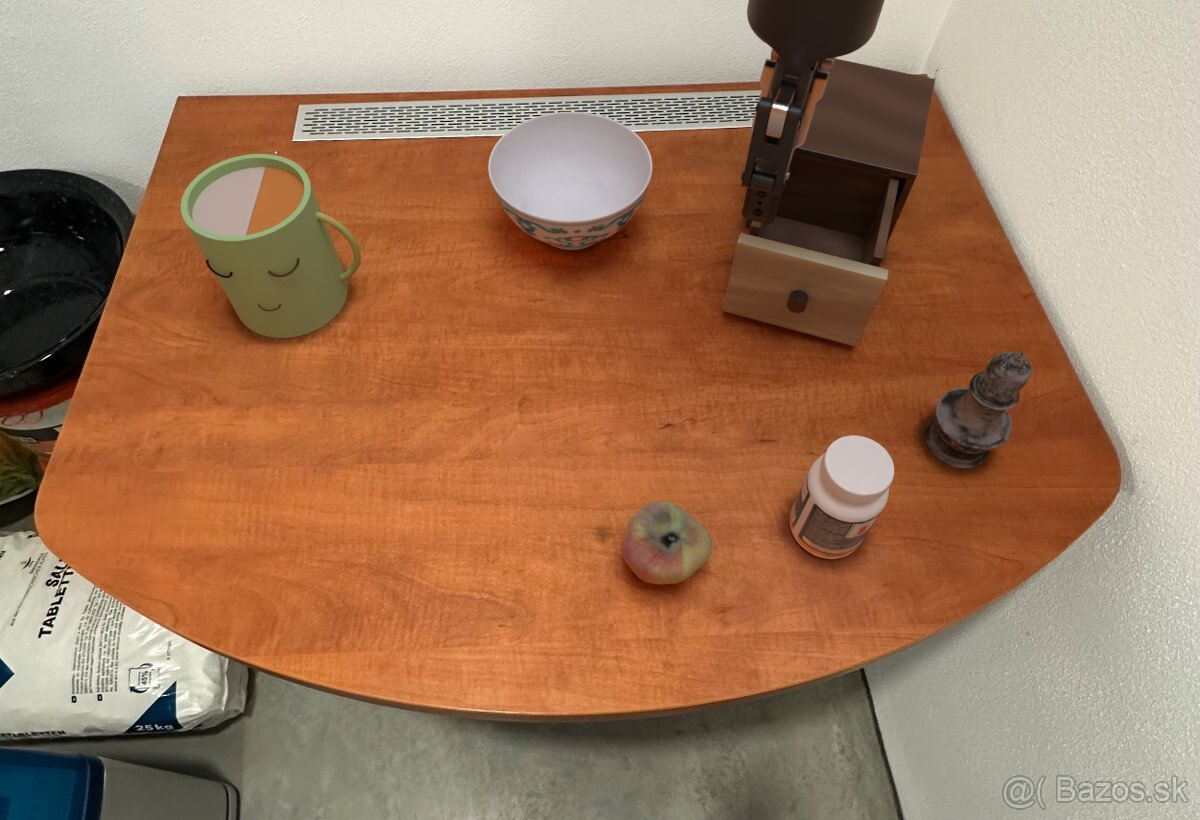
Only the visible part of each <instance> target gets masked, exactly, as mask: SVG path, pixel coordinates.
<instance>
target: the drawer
mask: <svg viewBox="0 0 1200 820" xmlns="http://www.w3.org/2000/svg"><path fill="white" fill-rule="evenodd" d="M788 172H790V175H789V179H788V180H786V181H785V182H786V185H785V188H784V190H782V193H781V197H780V200H779V204H778V208H777V212H776V215H775V218H774V221H773V222H772V223H771V224H764V223H760V222H756V221H752V223H751V227H749V232H748V234H747V233H743V232H740V233H739V236H738V239H737V241H736V246H735V250H734V255H733V260H732V264H731V268H730V273H729V274H730V275H729V278H728V283H727V287H726V288H727V289H726V292H725V297H724V301H723V307H722V312H725V313H728V314H732V315H736V316H739V317H742V318H747V319H751V320H754V321H758V322H762V323H765V324H770V325H773V326H776V327H777V326H778V327H781V328H784V329H787V330H792V331H795V332H799V333H803V334H807V335H811V336H815V337H817V338H822V339H826V340H829V341H833V342H836V343H841V344H844V345H848V346H851V347H856V348H857V346H858V344H859V342H860V339H861V338H862V336H863V333H864V332H865V329H866V326H867V325H868V322H869V320H870V318H871V316H872V315H873V314H872V313H873V311H874V309H875V307H876V305H877V303H878V301H879V298H880V297H881V295H882V292H883V290H884V288H885V285H886V283H887V281H888V278H889V273H890V270H889V269H887V268H884V267H881V264H882V263H883V260H884V256H885V251H886V248H885V247H887V245H886V242H887V237H888V233H889V228H890V223H891V218H892V213H893V209H894V204H895V199H896V194H897V189H898V184H899V180H900V178H899V177H894V176H890V175H886V174H881V173H877V172H873V171H868V170H864V169H860V168H855V167H851V166H847V165H842V164H838V163H834V162H829V161H825V160H820V159H816V158H812V157H807V156H803V155H799V154H793V158H792V161H791V164H790V168H789V171H788Z"/></svg>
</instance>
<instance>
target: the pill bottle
mask: <svg viewBox="0 0 1200 820" xmlns="http://www.w3.org/2000/svg"><path fill="white" fill-rule="evenodd" d="M894 477H895V465H894V460H893V459H892V456H891V455H890V453H889V452H888V451H887V450H886V448H885V447H883V446H882V445H881V444H880V443H879V442H877V441H875V440H873V439H871V438H869V437H866V436H862V435H844V436H841V437H839V438H837V439H835V440H834V441H833V442H832V443H830V444H829V446H828V447H827V448H826V450H825V452H824V454H822V455H820V456H819V457H818V458H816V460H815V461H813V463H812V465H811V466H810V469H809V470H808V472H807V475H806V477H805V478H804V481H803V483H802V485H801V488H800V490H799V492H798V494H797V497H796V498H795V501H794V502H793V504H792V507H791V509H790V514H789V526H790V531H791V533H792V536H793V537H794V539H795V541H796V542H797V543H798V544H799V546H800V547H801V548H803V549H804V550H805V551H806V552H808V553H810V554H811V555H813V556H815V557H818V558H822V559H825V560H837V559H842V558H845V557H847V556H849V555H851V554H852V553H854V552H855V551H856V550H857V548H859V546H860V545H861V544H862V542H863V541H864V540H865V538H866V536H867V535H868V533H869V532H870V530H871V528H872V527H873V526H874V524H875V522H877V520H878V518H879V516H880V515H881V513H882V512H883V511H884V510H885V507H886V505H887V502H888V499H889V495H890V486H891V485H892V483H893V480H894Z"/></svg>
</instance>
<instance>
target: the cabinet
mask: <svg viewBox="0 0 1200 820" xmlns="http://www.w3.org/2000/svg"><path fill="white" fill-rule="evenodd" d="M935 83H936V79H935V78H933V77H926V76H922V75H917V74H913V73H907V72H902V71H898V70H893V69H888V68H883V67H878V66H874V65H868V64H864V63H860V62H859V63H858V62H855V61H849V60H845V59H840V58H836V59H835V62H834V66H833V69H832V72H831V74H830V75H829V79H828V82H827V86H826V89H825V92H824V96H823V98H822V99H821V101H819V102H818V103H817V105H816V108H815V112H814V115H813V118H812V122H811V125H810V128H809V132H808V135H807V139H806V142H805V144H804V145H803V146H802V147H799V148H797V149H795V151H794V154H799V155H803V156H807V157H812V158H816V159H820V160H825V161H829V162H834V163H838V164H842V165H847V166H851V167H855V168H860V169H864V170H868V171H873V172H877V173H881V174H886V175H890V176H894V177H899V178H900V180H899V184H898V189H897V194H896V199H895V204H894V209H893V213H892V218H891V223H890V228H889V233H888V237H887V242H886V247H887V245H888V243H889V240H890V238H891V236H892V234H893V231H894V229H895V227H896V224H897V222H898V220H899V218H900V216H901V214H902V211H903V208H904V206H905V204H906V202H907V199H908V197H909V194H910V193H911V191H912V188H913V186H914V183H915V181H916V179H917V176H918V172H919V167H920V162H921V157H922V152H923V146H924V142H925V141H924V140H925V137H926V136H925V135H926V130H927V124H928V119H929V115H930V109H931V105H932V98H933V94H934V89H935ZM771 162H772V161H771ZM751 223H752V220H748V219H746V222H745V227H747V228H750V227H751ZM886 247H885V249H886Z"/></svg>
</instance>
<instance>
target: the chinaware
mask: <svg viewBox="0 0 1200 820" xmlns="http://www.w3.org/2000/svg"><path fill="white" fill-rule="evenodd" d="M487 169H488V170H487V171H488V178H489V182H490V184H491V187H492V189H493V192H494V194H495V196H496V199H497V201H498V202H499V204H500V206H501V208H503V211H504V212H505V213H506V215H507V216H508V217H509V219H510V220H511V221H512V222H513V223H514V224H515V225H516V226H517V227H518V228H520V230H522V231H523V232H525V233H526V234H528V235H529V236H530V237H533V238H534V239H536V240H538V241H541V242H543V243H546V244H549V245H551V246H553V247H555V248H558V249H561V250H569V251H576V250H577V251H578V250H582V249H586V248H589V247H591V246H593V245H595V244H596V243H599V242H601V241H604V240H606V239H608V238H609V237H611V236H613V235H615V234H616V233H618V232H619V231H620V230H621V229H622V228H623V227H625V226H626V224H628V223H629V221H630V220H631V219H632V218H633V217H634V216H635V214H636V213H637V211H638V210H639V208H640V207H641V205H642V203H643V201H644V199H645V197H646V194H647V193H648V189H649V186H650V184H651V179H652V175H653V159H652V155H651V151H650V150H649V148H648V146H647V144H646V143H645V142H644V140H643V139H642V138H641V137H640V136H639V135H638V134H637V133H636V132H635V131H634V130H632V128H629V126H626V125H625V124H624V123H621V122H619V121H617V120H615V119H612V118H610V117H607V116H604V115H600V114H595V113H590V112H583V111H560V112H552V113H546V114H543V115H539V116H538V115H537V116H534V117H532V118H529V119H526V120H525V121H522V122H520V123H519V124H517V125H514V126H513V127H512V128H510V129H509V130H507V132H505V133H504V134H503V135H502V136H501V137H500V138H499V140H498V141H496V143H495V145H494V147H493V148H492V150H491V152H490V154H489V158H488V163H487Z"/></svg>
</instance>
